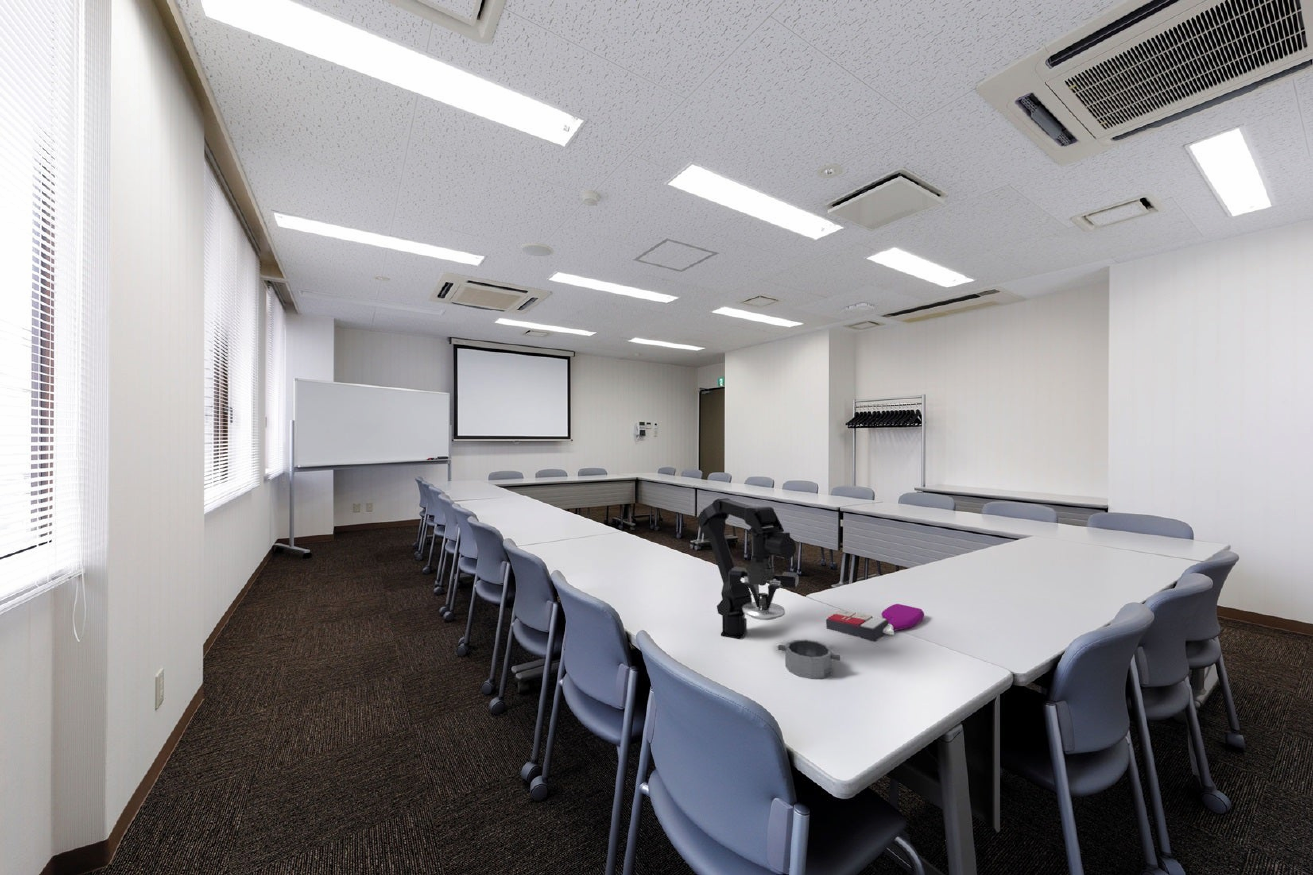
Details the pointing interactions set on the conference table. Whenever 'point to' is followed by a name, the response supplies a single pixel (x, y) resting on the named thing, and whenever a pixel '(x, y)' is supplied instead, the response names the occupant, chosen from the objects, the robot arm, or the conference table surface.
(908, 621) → the purple squeeze pouch
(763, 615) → the lid
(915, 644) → the conference table surface
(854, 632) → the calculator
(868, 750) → the conference table surface
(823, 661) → the pot
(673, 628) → the conference table surface
